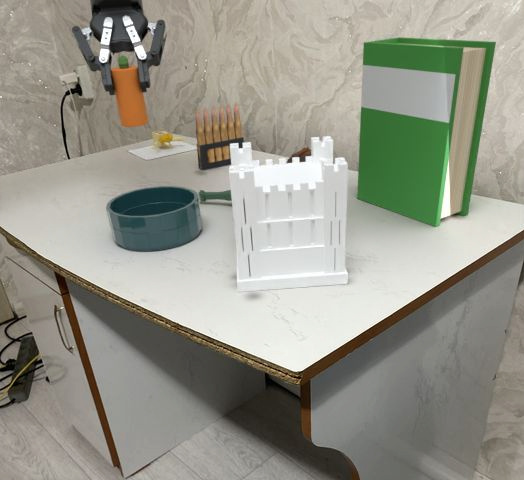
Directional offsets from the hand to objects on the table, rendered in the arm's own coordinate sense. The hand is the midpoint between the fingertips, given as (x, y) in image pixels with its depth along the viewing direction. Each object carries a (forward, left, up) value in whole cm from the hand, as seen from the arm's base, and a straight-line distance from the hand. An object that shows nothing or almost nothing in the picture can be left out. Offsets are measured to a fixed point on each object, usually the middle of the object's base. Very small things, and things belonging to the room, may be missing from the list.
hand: (127, 89), depth 77 cm
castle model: (+19, -20, -21) cm, 34 cm away
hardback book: (+43, -4, -21) cm, 48 cm away
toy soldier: (+23, +9, -21) cm, 33 cm away
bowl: (+1, -3, -21) cm, 21 cm away
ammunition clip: (+15, +33, -21) cm, 42 cm away
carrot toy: (0, +2, -5) cm, 5 cm away
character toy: (+2, +52, -21) cm, 56 cm away
